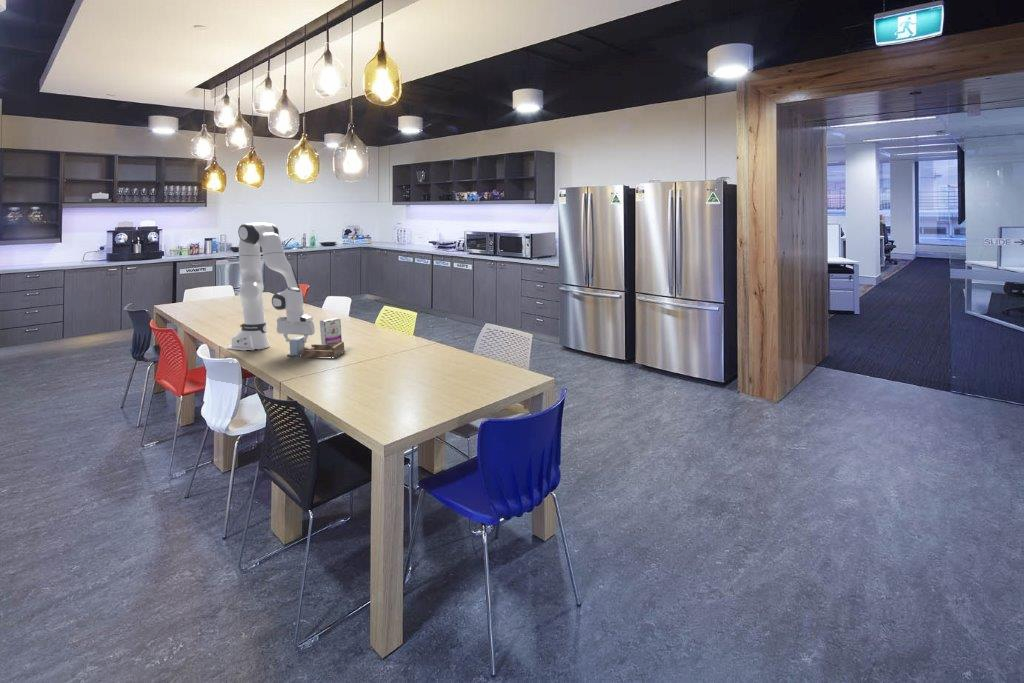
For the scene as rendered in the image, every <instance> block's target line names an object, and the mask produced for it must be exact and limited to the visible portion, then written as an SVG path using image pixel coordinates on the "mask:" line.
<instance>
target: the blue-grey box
mask: <svg viewBox="0 0 1024 683" xmlns="http://www.w3.org/2000/svg"><path fill="white" fill-rule="evenodd" d="M303 339H305V337H304V336H296V337H294V338H292V339H291V338H290V340H289V342H288V343H289V354H290V355H298V354H300V353H301V350H304V347H306V345H305V344H306V343H303V341H302V340H303Z"/></svg>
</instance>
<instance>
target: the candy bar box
mask: <svg viewBox="0 0 1024 683" xmlns="http://www.w3.org/2000/svg"><path fill="white" fill-rule="evenodd" d="M341 322H342V321H341V318H337V317H334V318H333V317H332V318H327V319H321V320H319V329H320V330H319V332H320V341H321V342H320V343H321V344H322V345H337V344H339V343H341V342H343V340H342V324H341Z"/></svg>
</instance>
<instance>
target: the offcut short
mask: <svg viewBox="0 0 1024 683" xmlns="http://www.w3.org/2000/svg"><path fill="white" fill-rule="evenodd" d="M304 350H314V348H313V347H311V345H310V346H309V345H307V346H306V345H305V347H304Z"/></svg>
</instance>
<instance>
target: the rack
mask: <svg viewBox="0 0 1024 683" xmlns="http://www.w3.org/2000/svg"><path fill="white" fill-rule="evenodd" d="M310 347H313V348H314V350H301V356H300V358H303V357H331V358H330V359H334V358H335V357H336V356H338V355H339V354H341V353H342V352H344V353H345V342H344V341H342V342H341V343H339V344H337V345H322V344H316V343H312V344H310ZM342 354H343V353H342ZM342 354H341V355H342ZM339 356H340V355H339ZM339 356H338V357H339ZM332 357H334V358H332ZM336 358H337V357H336ZM336 358H335V359H336Z"/></svg>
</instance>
